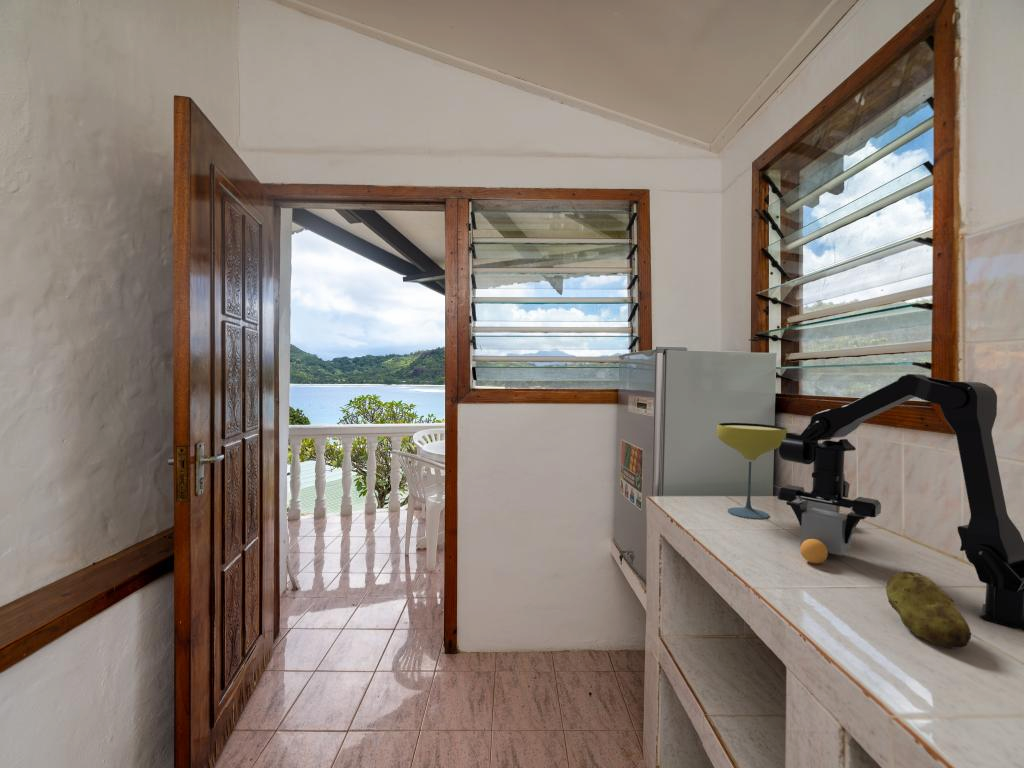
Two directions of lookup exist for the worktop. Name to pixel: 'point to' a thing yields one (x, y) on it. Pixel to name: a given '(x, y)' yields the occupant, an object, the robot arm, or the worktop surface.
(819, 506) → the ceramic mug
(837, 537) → the plain gray cube
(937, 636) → the potato
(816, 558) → the ball
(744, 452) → the cocktail glass
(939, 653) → the worktop surface
